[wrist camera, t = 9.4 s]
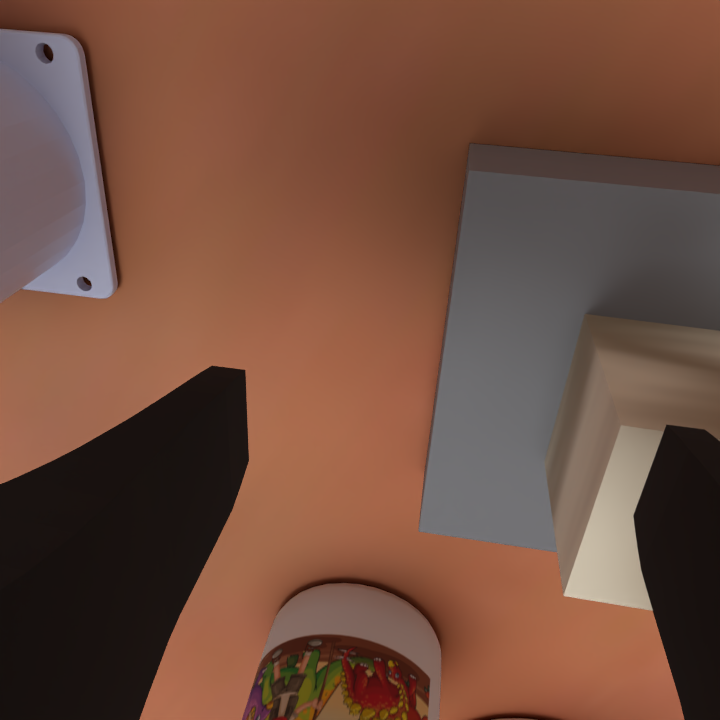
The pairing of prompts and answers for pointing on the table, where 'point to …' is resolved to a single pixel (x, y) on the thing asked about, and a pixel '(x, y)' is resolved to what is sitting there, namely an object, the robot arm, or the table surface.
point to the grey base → (551, 314)
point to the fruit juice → (514, 719)
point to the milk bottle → (348, 659)
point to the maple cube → (621, 443)
